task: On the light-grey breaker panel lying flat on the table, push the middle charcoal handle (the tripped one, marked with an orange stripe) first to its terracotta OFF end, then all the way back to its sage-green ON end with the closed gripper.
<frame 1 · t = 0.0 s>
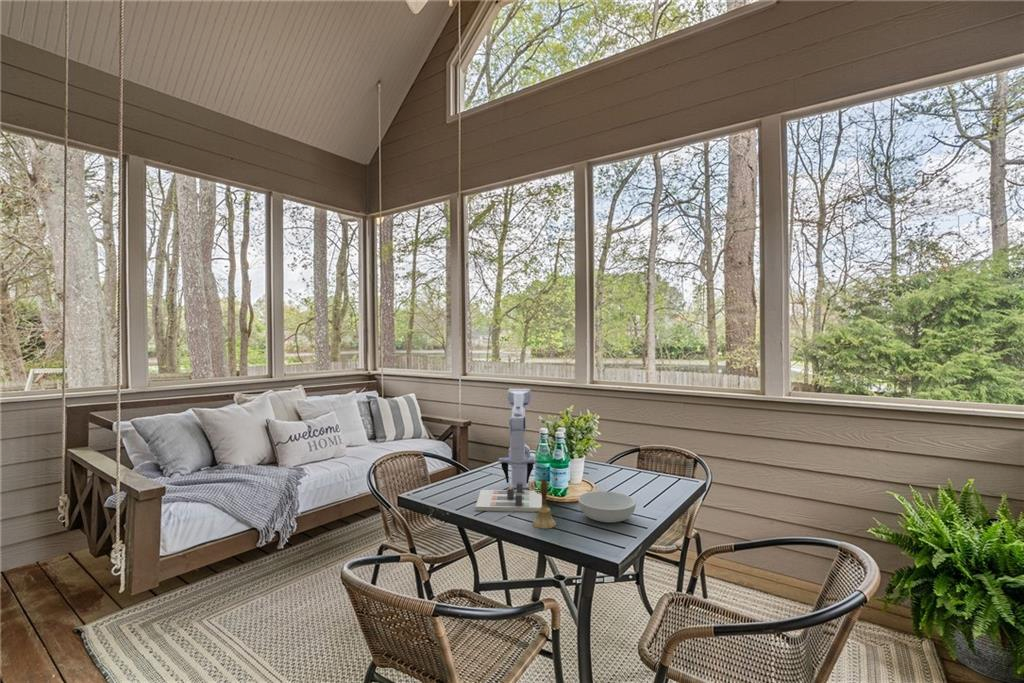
hand: (517, 482, 184), 10 cm above the table, fingers open, 7 cm apart
serving bowl: (606, 518, 175), on the table
panel: (510, 502, 191), on the table
tripped breaker: (510, 492, 191), point 4 cm above the table, slide at 0.0 cm
hand bell: (544, 524, 169), on the table
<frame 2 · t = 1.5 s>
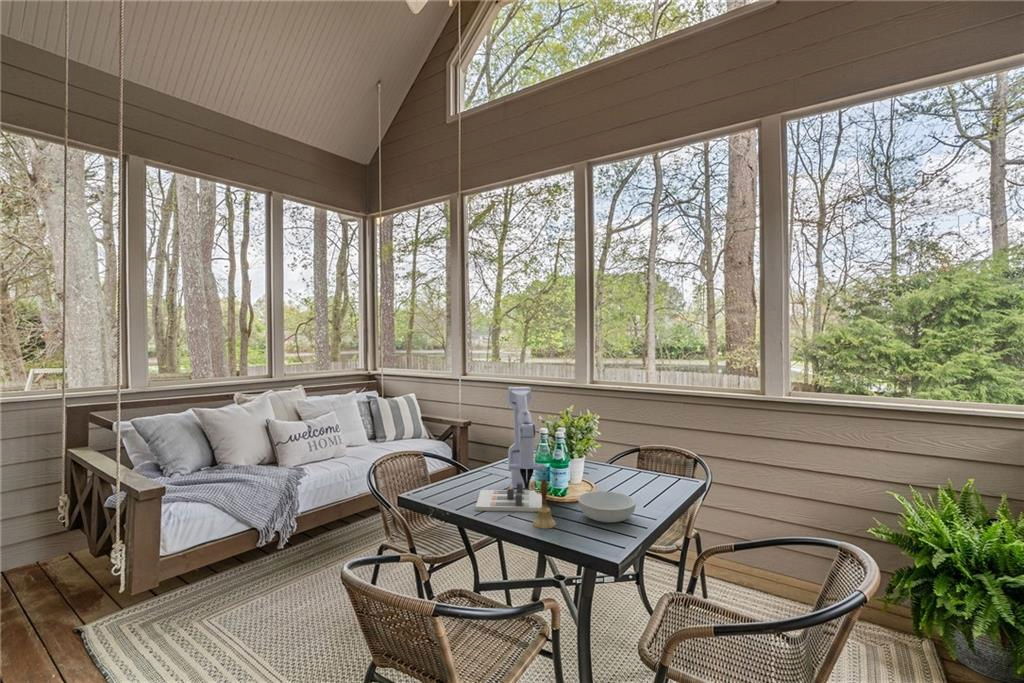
hand: (526, 487, 191), 6 cm above the table, fingers closed
nothing on the table moved.
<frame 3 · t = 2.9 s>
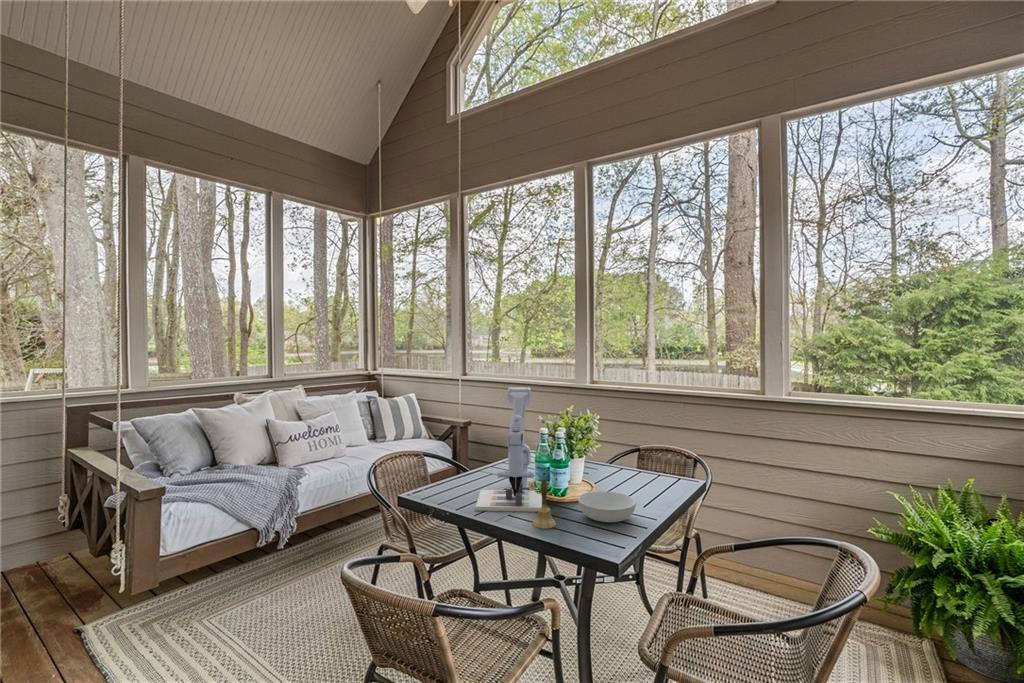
hand: (515, 495, 191), 3 cm above the table, fingers closed
tripped breaker: (509, 492, 191), point 4 cm above the table, slide at -0.6 cm, touching gripper
everything else where it was.
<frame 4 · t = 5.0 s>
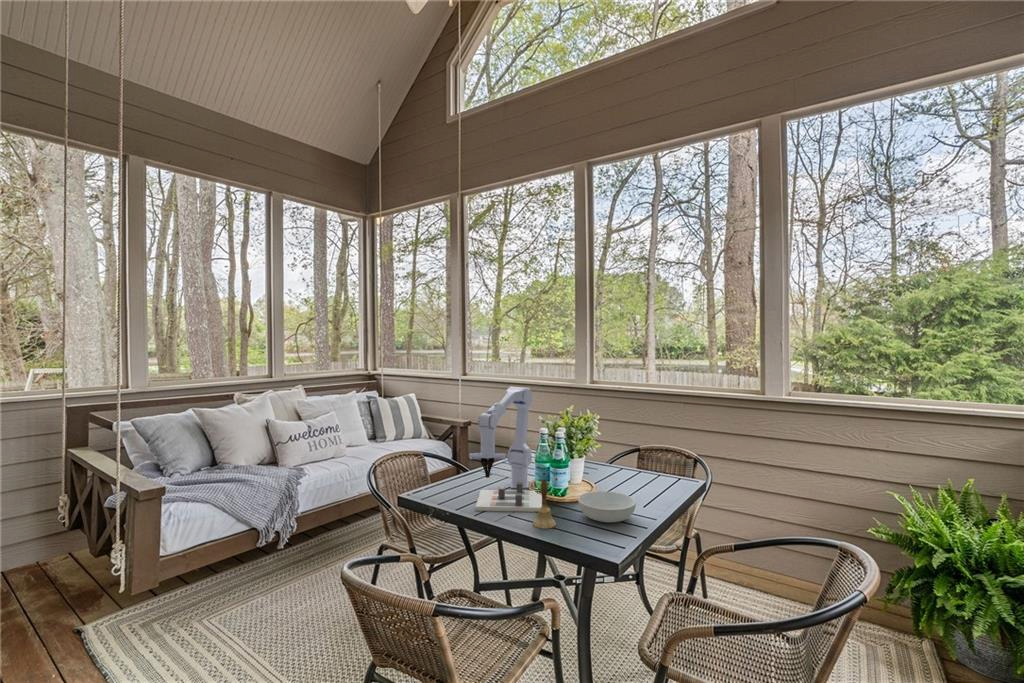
hand: (487, 477, 192), 10 cm above the table, fingers closed
tripped breaker: (501, 492, 191), point 4 cm above the table, slide at -3.5 cm
everything else where it was.
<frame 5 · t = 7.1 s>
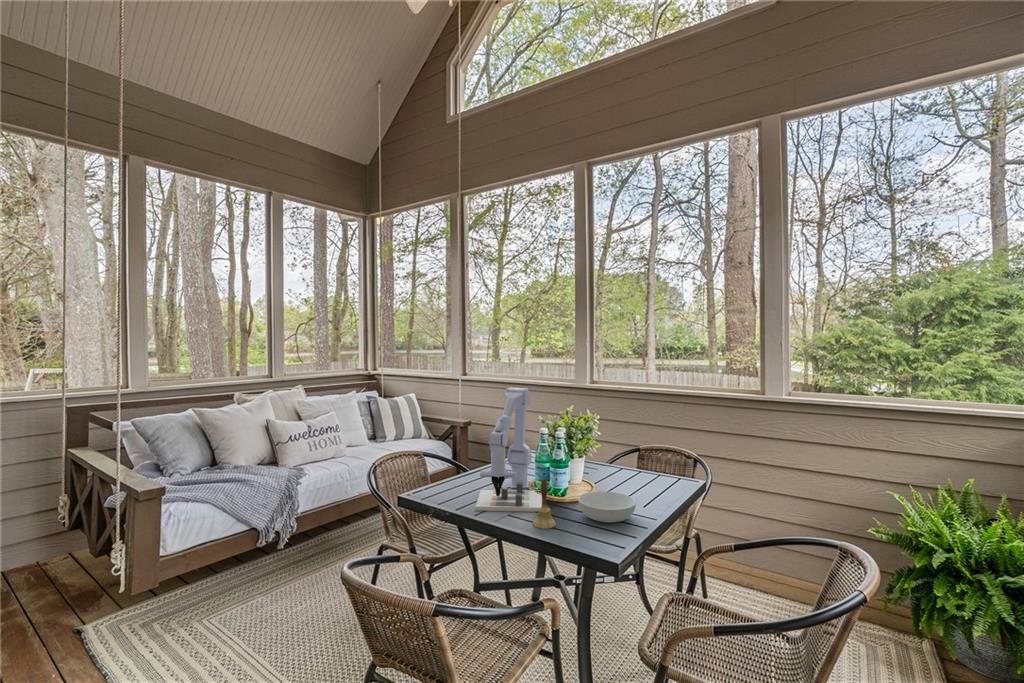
hand: (498, 495, 192), 3 cm above the table, fingers closed
tripped breaker: (504, 492, 191), point 4 cm above the table, slide at -2.3 cm, touching gripper
everything else where it was.
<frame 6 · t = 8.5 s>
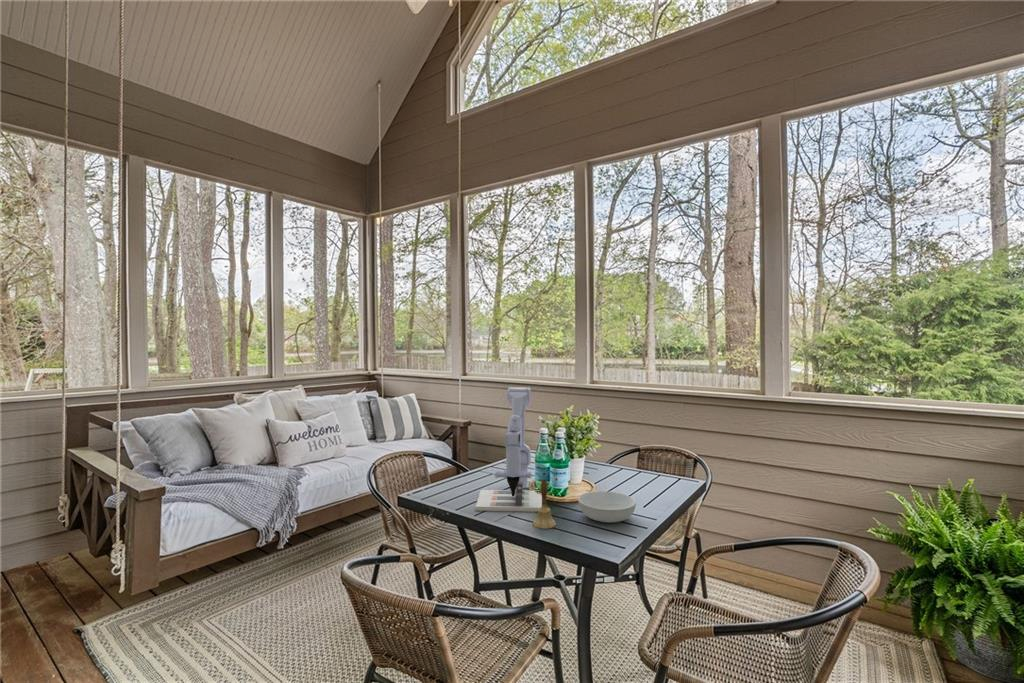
hand: (513, 495, 191), 3 cm above the table, fingers closed
tripped breaker: (519, 492, 191), point 4 cm above the table, slide at 3.6 cm, touching gripper
everything else where it was.
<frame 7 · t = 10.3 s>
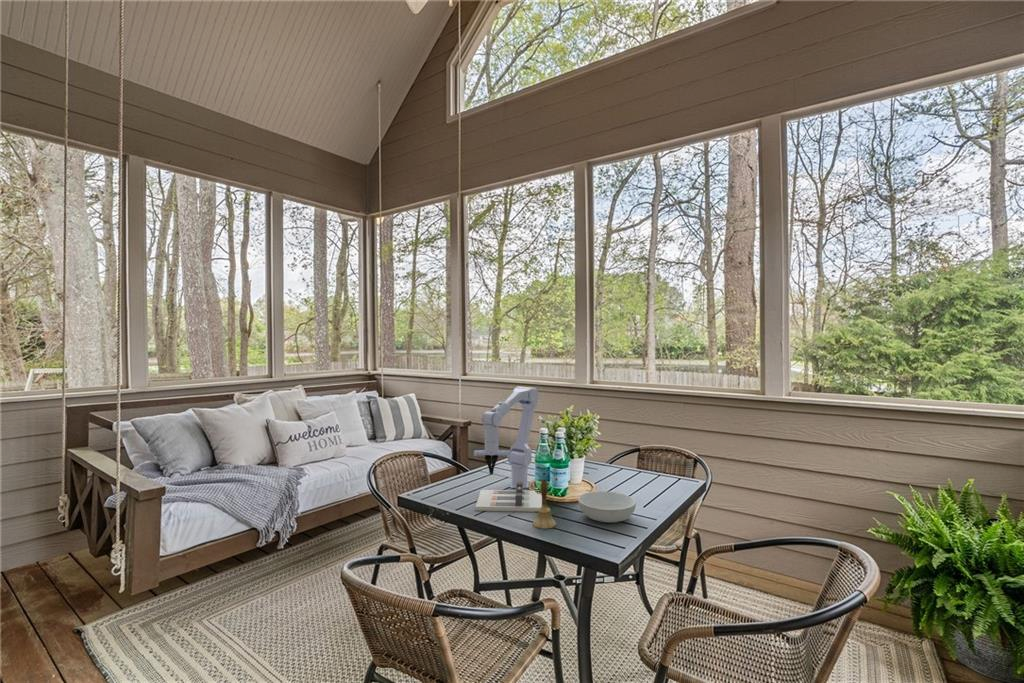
hand: (491, 473, 197), 10 cm above the table, fingers closed
tripped breaker: (519, 492, 191), point 4 cm above the table, slide at 3.5 cm
everything else where it was.
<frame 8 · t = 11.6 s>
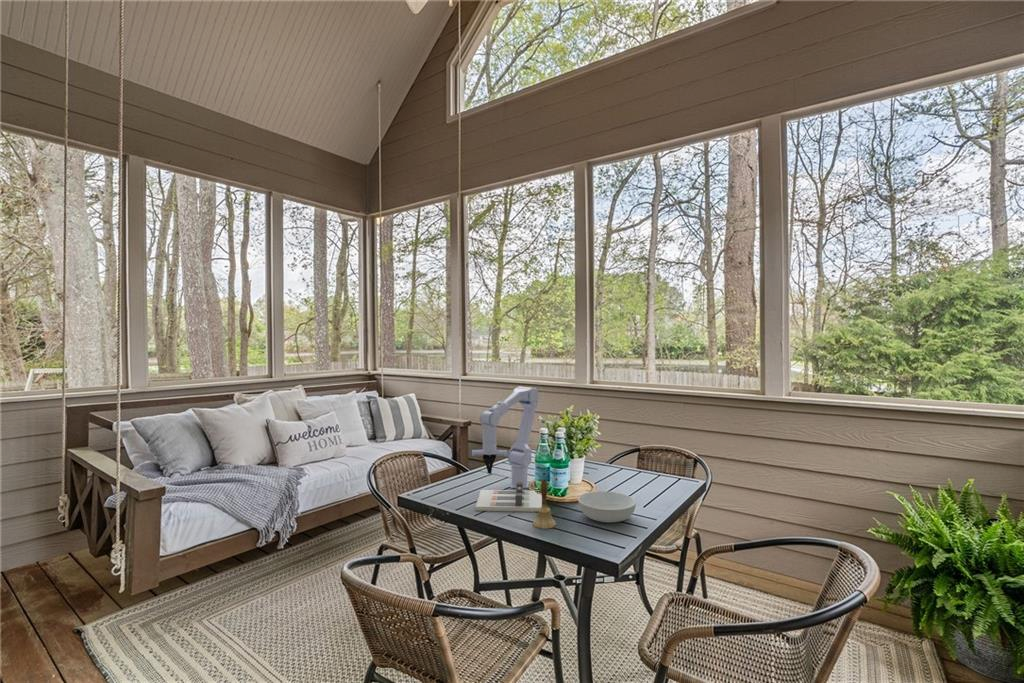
hand: (489, 472, 198), 10 cm above the table, fingers closed
nothing on the table moved.
at the end: tripped breaker slide at 3.5 cm; tripped breaker touching nothing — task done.
